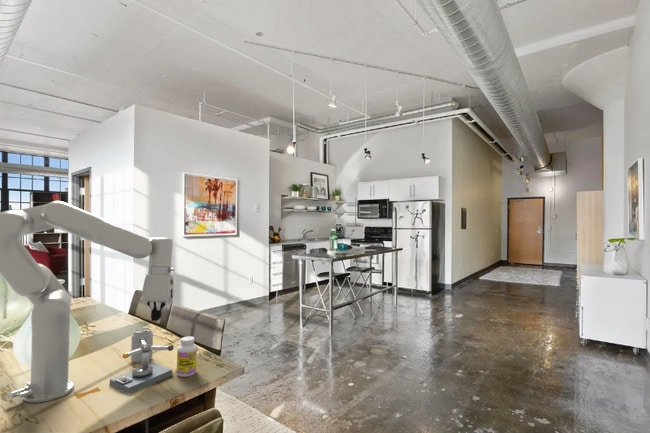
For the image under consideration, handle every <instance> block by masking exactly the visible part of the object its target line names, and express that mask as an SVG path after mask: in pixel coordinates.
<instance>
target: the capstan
mask: <svg viewBox="0 0 650 433" xmlns="http://www.w3.org/2000/svg"><path fill="white" fill-rule="evenodd" d="M139 343H141V346H140V348H139V349H136V350H133V351H131V350H130V351H128V352H124V353H123V354H122V358H123V359H128V358H129V357H130V358H131V356H132V355H135V354H138V353H140V352H141V353H142V363H141V365H140V366H137V367H135V368H133V369H132V370H131V371H132V376H133V377H137V378H140V377H146V376H148V375H150V374H152V373H153V367H152V366H148V365H149V362H150V360H149V352H150V351H151V350H152V351H169V352H171V351H173V350H174V348H175V347H174V345H173V344H170V345H153V346H151V344H146V342H145V339H144V338H141V339H140V340H139Z"/></svg>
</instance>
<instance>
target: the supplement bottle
mask: <svg viewBox="0 0 650 433" xmlns="http://www.w3.org/2000/svg"><path fill="white" fill-rule="evenodd" d="M197 351H198V346H197V344H195V337H194V336H192V335H191V336H184V337H181V338H180V345H179V346H178V347H177V351H176V352H177V353H176V356H177V358H176V359H177V360H176V375H177V376H178V377H181V378H182V377H183V378H185V377H191V376H193V375H195V374H196V371H197V360H198V359H197V355H198V354H197Z"/></svg>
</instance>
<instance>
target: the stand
mask: <svg viewBox="0 0 650 433" xmlns="http://www.w3.org/2000/svg"><path fill="white" fill-rule="evenodd" d="M148 366H152V367H153V373H152V374H150V375H148V376H146V377H140V378H137V377H133V376H132V370H131V371H128V372H126V373H121V374H119V375H117V376H115V377H111V378H109V385H110V386H111V387H113V388H115V389H117V390H119V391H121V392H124V393H126V394H129V395H130V394H132V393H134V392H137V391H139V390H141V389H143V388H146V387H149V386H151V385H152V384H155V383H157V382H159V381H162V380H165V379H167V378H169V377H171V376H173V369H172V368H169V367H167V366H164V365H161V364H158V363H156V362H151V363H148Z"/></svg>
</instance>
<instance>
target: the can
mask: <svg viewBox="0 0 650 433" xmlns="http://www.w3.org/2000/svg"><path fill="white" fill-rule="evenodd" d="M141 338H144V339H145V342H146V344H151V346H154V345H153V343H154V342H153V340H154V332H153V331H152V328H150V327H141V328H136V329H134V330H133V333H132V334H131V344H130V346H131V350H130V352H131V351H133V350H136V349H139V348H140V346H141V343H139V340H140V339H141ZM152 358H153V350H151V351H150V352H149V361H150V360H151V359H152ZM130 360H131V361H132V362H133V363H135V364H142V353H141V352H140V353H138V354H135V355H132V356H130Z"/></svg>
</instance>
